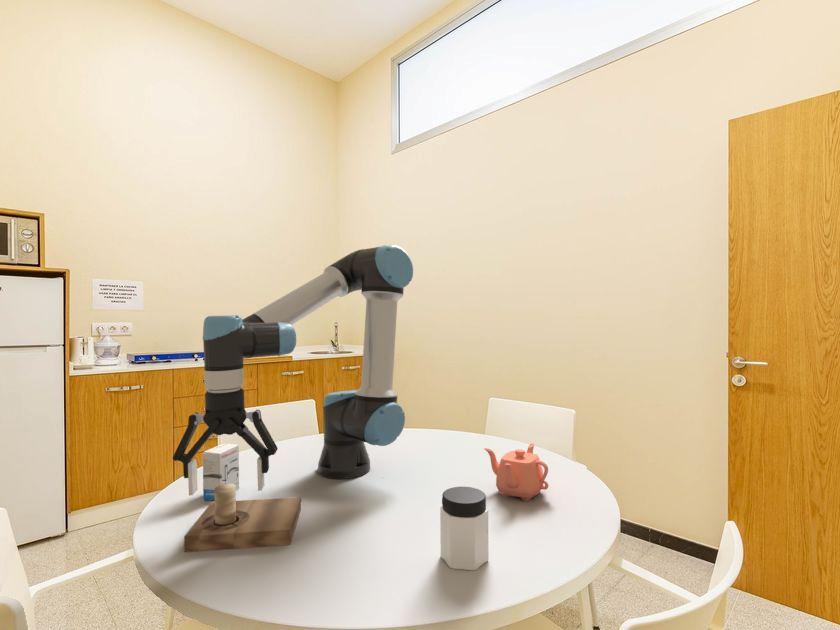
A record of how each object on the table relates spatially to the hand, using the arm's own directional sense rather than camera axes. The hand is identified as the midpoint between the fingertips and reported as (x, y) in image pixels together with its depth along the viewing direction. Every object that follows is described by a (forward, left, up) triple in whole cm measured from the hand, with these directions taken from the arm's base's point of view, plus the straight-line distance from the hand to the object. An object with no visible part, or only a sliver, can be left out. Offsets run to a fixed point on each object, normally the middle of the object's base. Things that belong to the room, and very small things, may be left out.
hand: (227, 490), depth 95 cm
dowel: (0, 0, -9) cm, 9 cm away
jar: (-47, +16, -9) cm, 50 cm away
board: (-4, -2, -9) cm, 10 cm away
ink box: (+8, -23, -9) cm, 26 cm away
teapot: (-67, -13, -9) cm, 68 cm away
